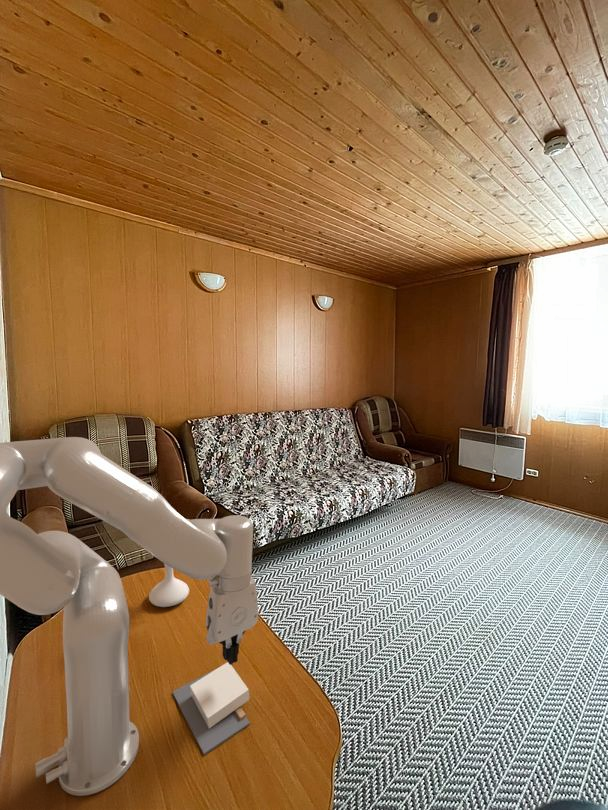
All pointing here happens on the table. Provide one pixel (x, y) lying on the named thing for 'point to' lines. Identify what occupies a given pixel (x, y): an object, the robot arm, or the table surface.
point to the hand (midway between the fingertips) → (230, 659)
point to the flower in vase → (169, 590)
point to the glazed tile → (219, 694)
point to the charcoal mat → (198, 726)
